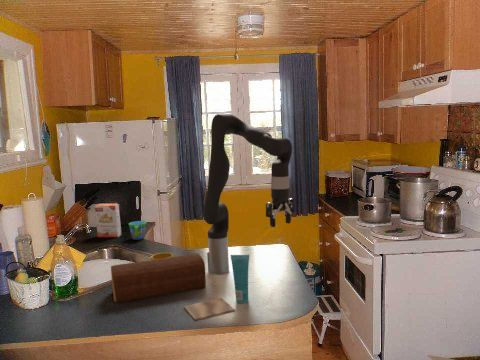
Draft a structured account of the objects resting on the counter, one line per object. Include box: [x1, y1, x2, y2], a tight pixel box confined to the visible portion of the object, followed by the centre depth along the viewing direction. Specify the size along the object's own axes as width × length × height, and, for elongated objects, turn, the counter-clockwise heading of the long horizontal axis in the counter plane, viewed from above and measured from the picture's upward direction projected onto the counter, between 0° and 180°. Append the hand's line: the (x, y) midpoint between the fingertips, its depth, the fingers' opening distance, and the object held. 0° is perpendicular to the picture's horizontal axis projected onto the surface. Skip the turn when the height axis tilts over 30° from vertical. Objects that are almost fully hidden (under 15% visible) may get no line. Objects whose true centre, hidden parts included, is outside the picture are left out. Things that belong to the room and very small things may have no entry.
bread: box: [110, 253, 207, 304], centre depth 197 cm, size 16×39×13 cm, turn 109°
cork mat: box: [183, 297, 235, 321], centre depth 175 cm, size 16×13×1 cm
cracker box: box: [94, 203, 122, 238], centre depth 291 cm, size 14×6×21 cm, turn 81°
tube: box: [230, 254, 250, 304], centre depth 180 cm, size 7×5×19 cm, turn 89°
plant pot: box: [150, 252, 174, 261], centre depth 215 cm, size 10×10×10 cm
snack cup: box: [128, 220, 147, 241], centre depth 283 cm, size 16×10×10 cm
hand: (280, 225), depth 189 cm, fingers open, 8 cm apart
